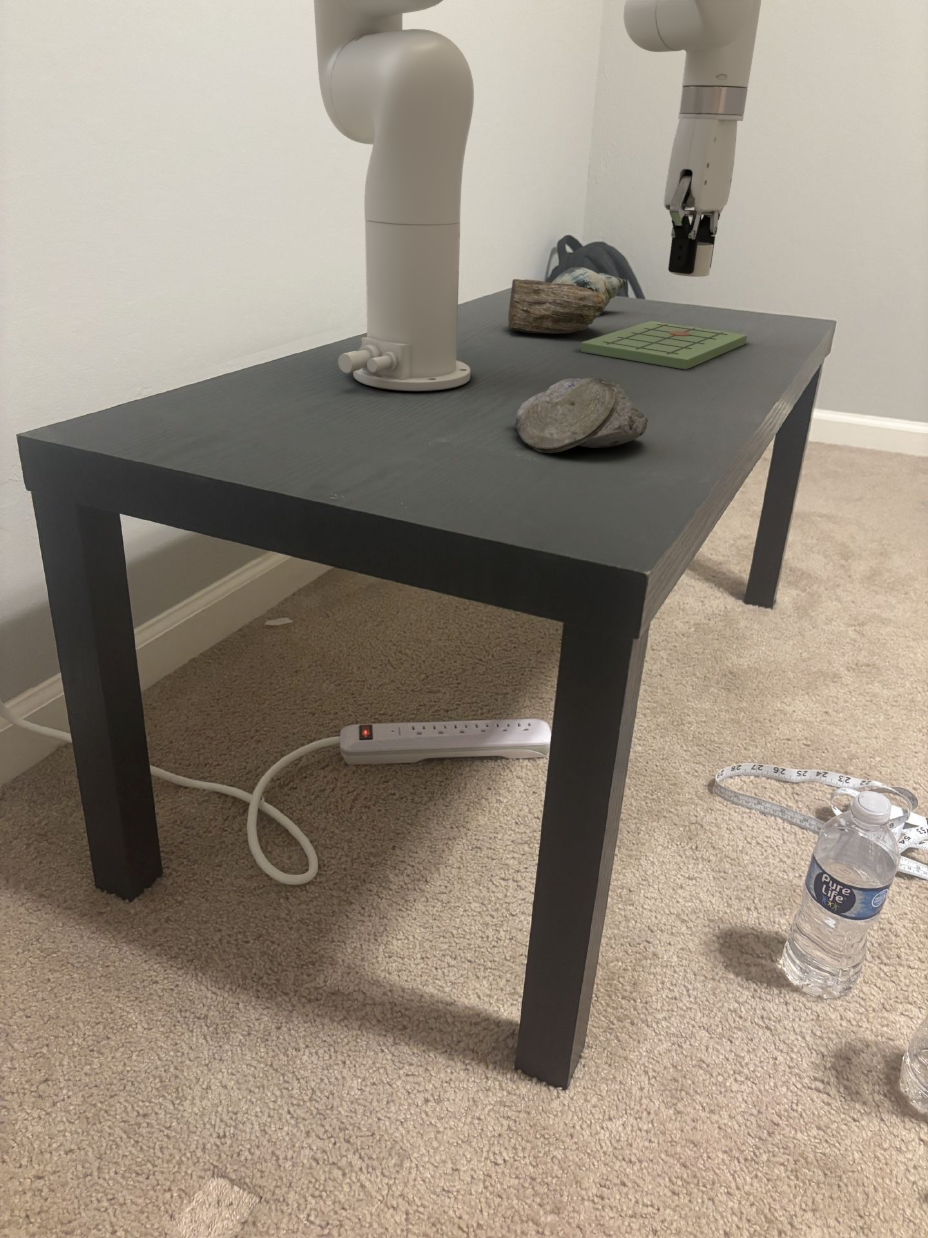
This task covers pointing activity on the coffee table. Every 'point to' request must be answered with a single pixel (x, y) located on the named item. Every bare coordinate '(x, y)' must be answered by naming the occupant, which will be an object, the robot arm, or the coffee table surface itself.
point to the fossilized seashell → (579, 416)
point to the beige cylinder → (701, 260)
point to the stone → (552, 307)
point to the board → (664, 344)
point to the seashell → (592, 281)
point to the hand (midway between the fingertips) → (689, 268)
